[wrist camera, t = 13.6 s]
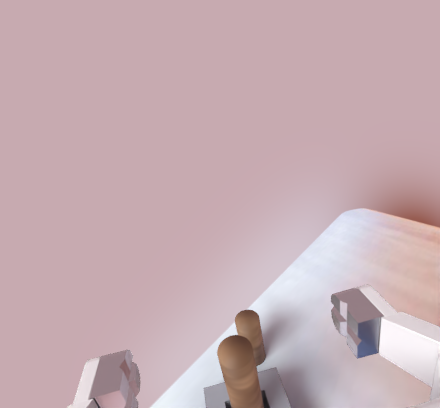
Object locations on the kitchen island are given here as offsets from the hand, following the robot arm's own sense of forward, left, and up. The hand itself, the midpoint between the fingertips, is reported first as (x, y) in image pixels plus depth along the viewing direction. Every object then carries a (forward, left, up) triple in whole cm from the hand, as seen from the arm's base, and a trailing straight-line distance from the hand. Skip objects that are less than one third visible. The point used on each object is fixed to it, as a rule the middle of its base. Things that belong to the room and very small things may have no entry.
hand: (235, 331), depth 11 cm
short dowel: (-3, -23, -32) cm, 40 cm away
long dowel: (0, -12, -32) cm, 34 cm away
